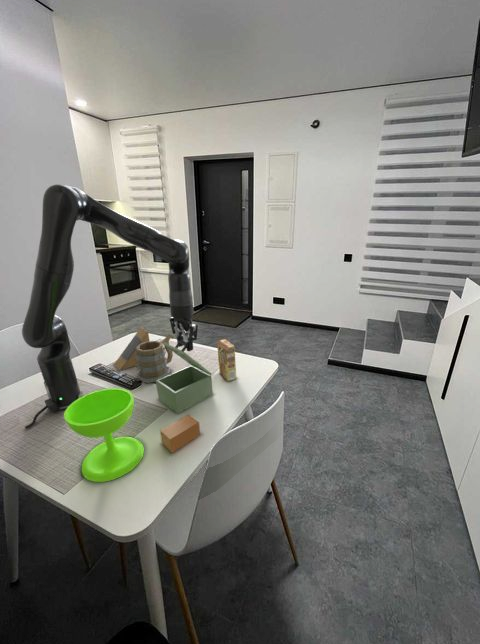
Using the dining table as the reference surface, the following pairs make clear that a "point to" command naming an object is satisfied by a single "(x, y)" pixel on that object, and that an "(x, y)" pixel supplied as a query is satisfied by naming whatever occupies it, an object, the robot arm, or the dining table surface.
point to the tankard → (153, 360)
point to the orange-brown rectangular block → (180, 433)
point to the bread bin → (184, 388)
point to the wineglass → (105, 433)
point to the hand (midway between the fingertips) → (185, 348)
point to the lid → (185, 356)
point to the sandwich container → (132, 350)
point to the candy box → (226, 359)
